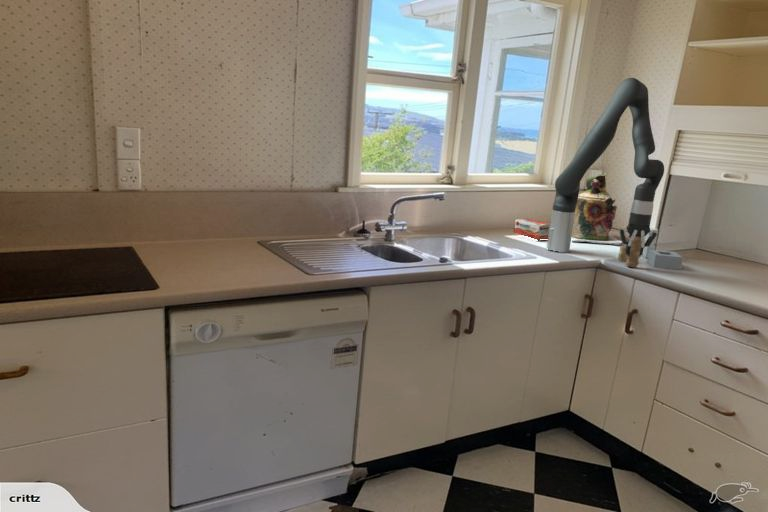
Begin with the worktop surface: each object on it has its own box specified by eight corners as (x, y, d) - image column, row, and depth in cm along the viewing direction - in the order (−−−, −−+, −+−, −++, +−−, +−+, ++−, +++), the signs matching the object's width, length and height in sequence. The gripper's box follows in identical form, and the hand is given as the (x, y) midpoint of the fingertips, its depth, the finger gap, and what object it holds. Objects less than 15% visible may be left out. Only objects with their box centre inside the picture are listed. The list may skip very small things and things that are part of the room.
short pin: (619, 261, 222) (622, 247, 221) (618, 259, 226) (620, 245, 224) (628, 262, 222) (631, 248, 220) (626, 260, 225) (629, 246, 224)
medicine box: (512, 235, 263) (514, 219, 261) (524, 234, 268) (526, 218, 266) (537, 242, 251) (539, 225, 249) (548, 240, 256) (551, 224, 254)
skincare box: (646, 258, 231) (651, 230, 229) (636, 255, 235) (641, 228, 232) (654, 256, 235) (659, 229, 232) (644, 254, 238) (649, 227, 235)
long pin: (627, 266, 212) (633, 236, 210) (625, 264, 216) (631, 234, 213) (637, 267, 212) (642, 237, 209) (634, 265, 215) (640, 235, 212)
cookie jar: (557, 232, 278) (566, 169, 270) (605, 235, 277) (616, 172, 270) (571, 242, 254) (582, 173, 246) (624, 246, 253) (636, 177, 246)
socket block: (653, 267, 216) (655, 254, 215) (646, 261, 226) (648, 249, 225) (680, 269, 214) (682, 257, 213) (672, 263, 224) (674, 251, 223)
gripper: (624, 211, 206) (616, 255, 210) (663, 215, 204) (655, 260, 208) (619, 208, 213) (612, 251, 218) (658, 212, 211) (649, 255, 215)
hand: (633, 255), depth 213 cm, fingers closed on long pin, 3 cm apart
